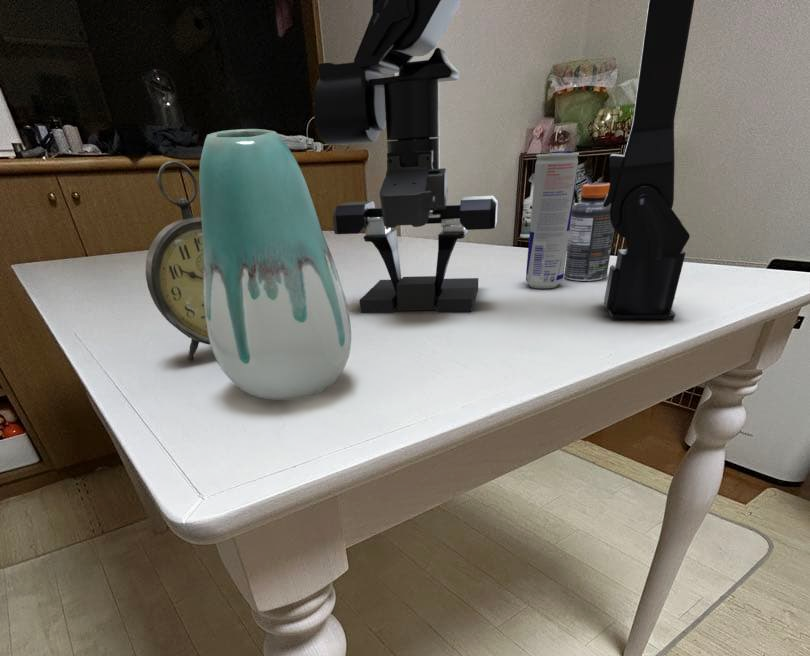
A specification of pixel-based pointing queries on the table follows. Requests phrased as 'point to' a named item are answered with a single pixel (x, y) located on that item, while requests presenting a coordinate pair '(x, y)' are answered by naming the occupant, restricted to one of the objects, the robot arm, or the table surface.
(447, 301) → the base pad
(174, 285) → the alarm clock
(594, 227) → the pill bottle
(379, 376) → the table surface
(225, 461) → the table surface
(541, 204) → the beverage can
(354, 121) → the robot arm
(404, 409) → the table surface
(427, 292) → the pad
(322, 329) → the vase
